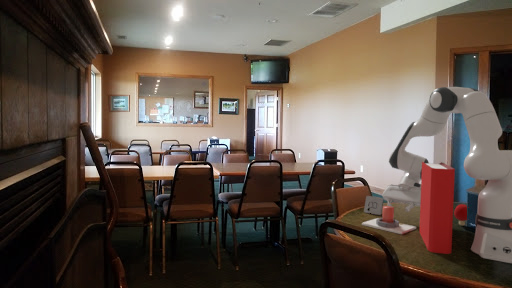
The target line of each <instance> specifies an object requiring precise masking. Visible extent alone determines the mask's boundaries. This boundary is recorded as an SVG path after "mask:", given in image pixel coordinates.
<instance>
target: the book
mask: <svg viewBox="0 0 512 288" xmlns="http://www.w3.org/2000/svg"><path fill="white" fill-rule="evenodd" d="M455 170H456V169H455V168H454V167H452V166H450V165H448V164H446V163H444V162H443V161H441V162H439V163H430V162H429V163H424V162H422V176H421V181H420V184H421V203H420V206H419V207H420V209H419V235H420V236H421V239H422V241H423V244H424V245H425V247H426V249H427V251H428V252H430V253H436V254H445V255H449V254H452V245H453V238H452V237H453V220H454V199H455V198H454V197H455V196H454V195H455V176H456V175H455V174H456V173H455Z"/></svg>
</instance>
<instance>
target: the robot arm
mask: <svg viewBox="0 0 512 288" xmlns="http://www.w3.org/2000/svg"><path fill="white" fill-rule="evenodd" d="M451 114H461V115H462V118H463V121H464V122H463V123H464V125H465V127H466V131H467V134H468V137H469V143H470V144H469V152H468V153H467V155H466V156H465V158H464V161H463V170H464V172H465V173H466V175H467V176H469V177H470V178H473V179H476V180H480V181H487V183H486V185H485V186H484V188H482V190H481V191H479V193H478V196H477V197H478V198H477V211H476V212H477V213H476V214H475V219H474V225H475V233H474V237H473V242H472V244H471V248H470V250H471V252H473V253H475V254H477V255H479V257H481V258H483V259H487V260H493V261H497V262H503V263H506V264H507V263H508V264H512V149H510V150H509V149H507V150H506V149H504V150H502V149H501V150H500V149H499V144H498V142H499V141H498V140H499V139H500V138H501V136H502V135H503V128H502V126H501V124H500V120H499V118H498V115H497V113H496V110H495V108H494V106H493V103H492V102H491V100H490V98H489V97H488V95H487V94H486V93H485V92H483V91H480V90H479V89H476V88H473V87H460V86H449V87H448V86H447V87H444V86H442V87H438V88H436V89H434V90H432V92H431V93H430V95H429V98H428V100H427V103H426V104H425V105H424V108H423V110H422V113H421V115H420V117H419V119H417V121H413V122H411V123H410V124H409V125H408V127H407V129H406V130H405V131H404V133H403V135H402V137H401V139H400V140H399V142H398V144H396V145H397V146H396V148H394V150H393V151H392V152H391V154H390V155H389V157H388V158H389V159H388V163H389V165H390V166H391V168H392V169H396V170H400V171H403V176H402V177H401V178H400V180H399V182H398V184H390V185H387V186H386V188H385V189H384V191H383V192H382V194H381V196H382V197H381V198H383V200H384V201H386V202H387V205H386V206H391V207H393V205H392V204H391V203H392V202H394V203H397V204H398V203H399V204H403V205H408V206H405V208H404V210H405V212H410V211H411V209H413V208H414V207H415V206H417V207H420V203H421V176H422V162H424V163H429V164H430V162H429V160H428V159H427V158H425V157H423V156H421V155H418V154H415V153H411V152H409V151H407V150H406V147H407V146H408V144H409V143H410V141H411V139H413V138H417V137H418V138H419V137H433V136H437V135H440V133H441V132H443V131H444V128H445V127H446V125H447V122H448V119H449V116H450V115H451Z"/></svg>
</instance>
